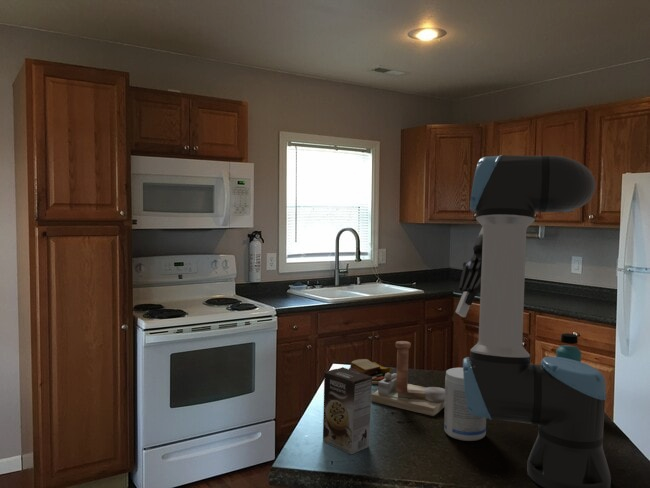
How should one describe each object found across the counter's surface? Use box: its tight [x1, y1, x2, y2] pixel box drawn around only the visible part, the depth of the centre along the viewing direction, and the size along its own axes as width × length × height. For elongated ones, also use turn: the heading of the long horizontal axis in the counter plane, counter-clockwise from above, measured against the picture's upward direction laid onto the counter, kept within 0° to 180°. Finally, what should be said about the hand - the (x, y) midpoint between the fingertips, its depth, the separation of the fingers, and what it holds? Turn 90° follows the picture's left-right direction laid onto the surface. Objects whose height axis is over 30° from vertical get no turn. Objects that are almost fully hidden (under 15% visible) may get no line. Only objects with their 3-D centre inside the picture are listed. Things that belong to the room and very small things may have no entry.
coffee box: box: [322, 367, 373, 455], centre depth 122 cm, size 9×6×16 cm
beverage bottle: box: [555, 333, 582, 362], centre depth 147 cm, size 6×7×20 cm
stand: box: [371, 372, 445, 417], centre depth 150 cm, size 14×18×7 cm
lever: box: [395, 340, 445, 402], centre depth 146 cm, size 14×6×14 cm, turn 81°
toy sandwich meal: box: [348, 358, 393, 385], centre depth 170 cm, size 12×14×5 cm
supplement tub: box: [443, 367, 487, 442], centre depth 129 cm, size 10×10×15 cm
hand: (460, 314), depth 150 cm, fingers closed
